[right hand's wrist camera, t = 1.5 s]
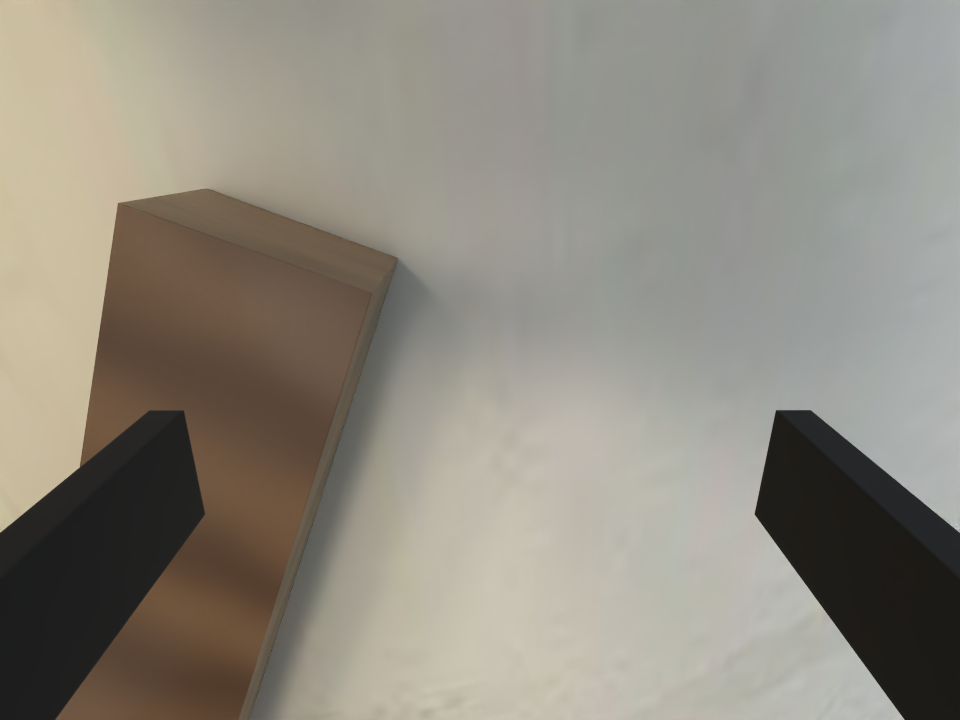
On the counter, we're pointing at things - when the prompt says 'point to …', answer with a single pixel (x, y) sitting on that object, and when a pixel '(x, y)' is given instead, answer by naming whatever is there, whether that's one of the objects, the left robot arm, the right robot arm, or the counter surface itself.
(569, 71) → the counter surface
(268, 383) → the thick board
